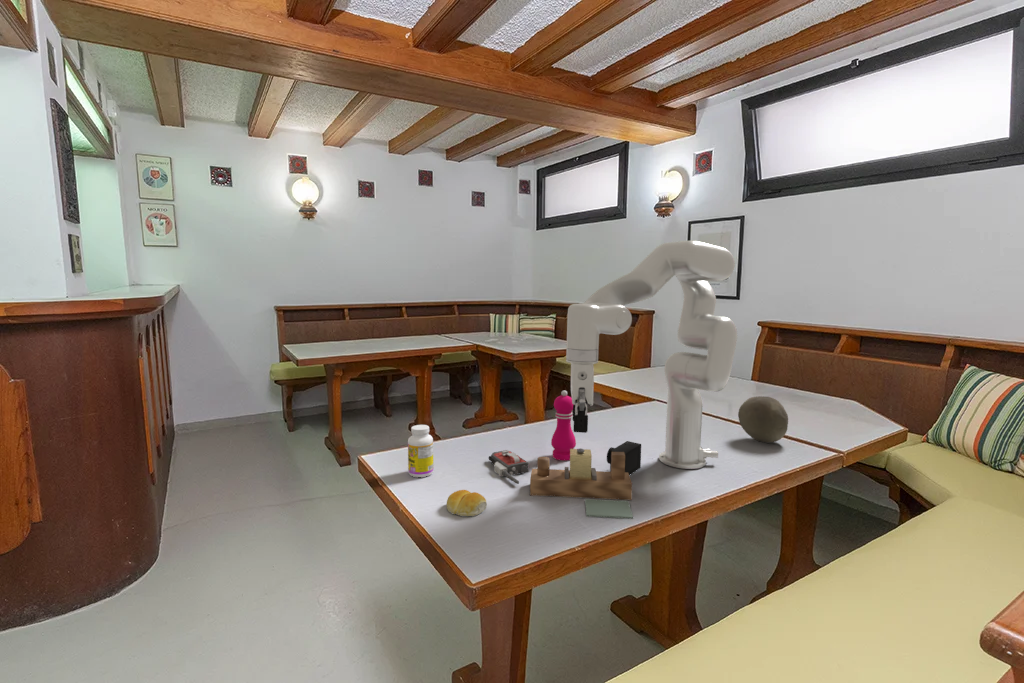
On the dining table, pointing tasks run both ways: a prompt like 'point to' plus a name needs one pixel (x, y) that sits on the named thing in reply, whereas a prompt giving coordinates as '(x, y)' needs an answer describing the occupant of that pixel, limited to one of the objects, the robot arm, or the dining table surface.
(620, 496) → the plane body
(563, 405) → the pepper mill
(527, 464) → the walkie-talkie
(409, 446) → the supplement bottle
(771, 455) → the dining table surface
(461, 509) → the bread roll
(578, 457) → the lever cap
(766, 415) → the cantaloupe
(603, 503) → the felt pad
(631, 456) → the digital camera
